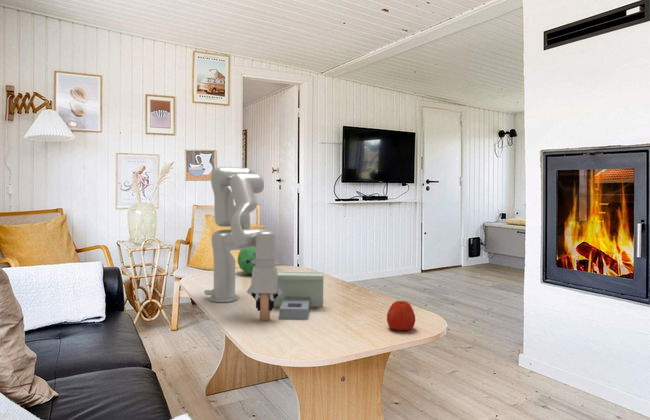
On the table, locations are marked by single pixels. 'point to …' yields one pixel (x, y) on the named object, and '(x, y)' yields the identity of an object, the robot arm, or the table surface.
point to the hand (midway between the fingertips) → (264, 309)
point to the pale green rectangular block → (301, 287)
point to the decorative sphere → (246, 260)
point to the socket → (294, 308)
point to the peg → (264, 307)
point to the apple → (401, 316)
